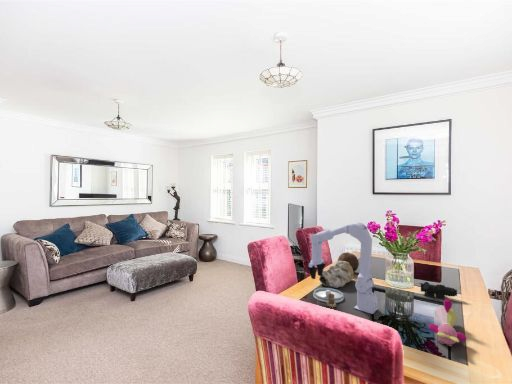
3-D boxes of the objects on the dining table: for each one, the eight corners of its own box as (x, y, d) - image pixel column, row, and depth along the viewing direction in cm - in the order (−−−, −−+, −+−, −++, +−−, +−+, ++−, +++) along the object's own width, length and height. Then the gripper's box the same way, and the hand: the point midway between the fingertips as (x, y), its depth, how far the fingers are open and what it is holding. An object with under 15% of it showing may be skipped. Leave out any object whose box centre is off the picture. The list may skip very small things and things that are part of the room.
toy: (428, 315, 129) (426, 346, 104) (431, 290, 128) (430, 316, 103) (460, 325, 122) (466, 361, 97) (464, 299, 121) (471, 329, 96)
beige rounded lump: (314, 280, 177) (342, 267, 189) (328, 299, 167) (357, 283, 179) (320, 266, 167) (349, 252, 179) (336, 284, 158) (366, 269, 170)
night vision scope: (456, 303, 149) (458, 297, 142) (419, 297, 158) (419, 291, 151) (455, 290, 153) (456, 283, 147) (419, 285, 162) (419, 278, 156)
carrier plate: (348, 296, 152) (348, 290, 152) (335, 305, 140) (335, 299, 140) (322, 289, 164) (322, 283, 164) (307, 297, 152) (307, 291, 152)
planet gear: (337, 305, 140) (337, 294, 140) (333, 308, 136) (333, 297, 136) (329, 303, 143) (329, 292, 143) (324, 306, 140) (324, 294, 140)
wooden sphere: (362, 272, 197) (362, 252, 197) (352, 277, 187) (352, 256, 187) (343, 268, 208) (344, 249, 208) (333, 272, 198) (333, 252, 198)
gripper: (317, 251, 164) (316, 272, 164) (304, 255, 153) (304, 278, 153) (327, 252, 159) (327, 275, 159) (314, 257, 149) (314, 281, 149)
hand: (316, 277), depth 156 cm, fingers open, 7 cm apart
